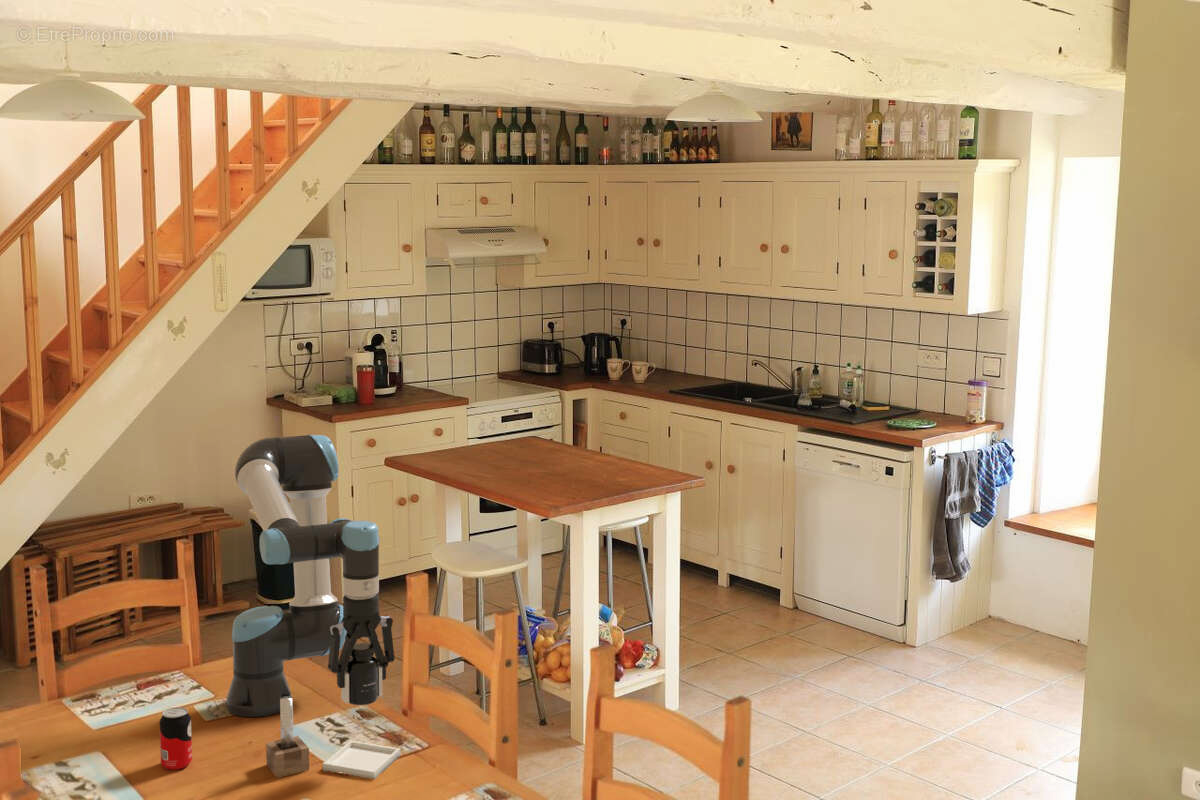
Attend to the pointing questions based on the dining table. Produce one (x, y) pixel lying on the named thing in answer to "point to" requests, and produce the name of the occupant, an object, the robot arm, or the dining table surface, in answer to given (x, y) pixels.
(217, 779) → the dining table surface
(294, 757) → the brown peg holder block
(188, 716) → the beverage can
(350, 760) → the tray
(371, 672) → the supplement bottle
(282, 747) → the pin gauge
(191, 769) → the dining table surface
